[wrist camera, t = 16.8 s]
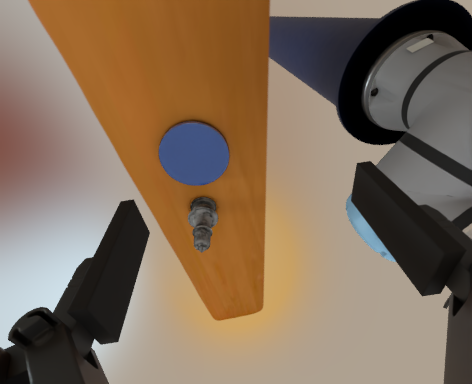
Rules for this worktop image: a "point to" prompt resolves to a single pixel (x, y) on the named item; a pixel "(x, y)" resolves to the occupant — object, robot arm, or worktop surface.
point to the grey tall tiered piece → (202, 221)
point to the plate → (194, 153)
